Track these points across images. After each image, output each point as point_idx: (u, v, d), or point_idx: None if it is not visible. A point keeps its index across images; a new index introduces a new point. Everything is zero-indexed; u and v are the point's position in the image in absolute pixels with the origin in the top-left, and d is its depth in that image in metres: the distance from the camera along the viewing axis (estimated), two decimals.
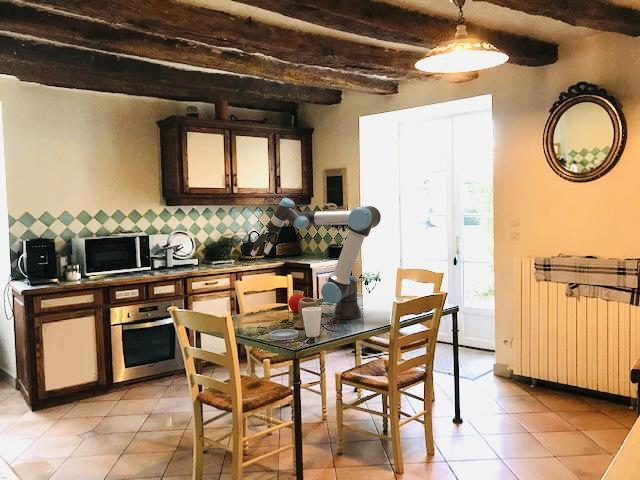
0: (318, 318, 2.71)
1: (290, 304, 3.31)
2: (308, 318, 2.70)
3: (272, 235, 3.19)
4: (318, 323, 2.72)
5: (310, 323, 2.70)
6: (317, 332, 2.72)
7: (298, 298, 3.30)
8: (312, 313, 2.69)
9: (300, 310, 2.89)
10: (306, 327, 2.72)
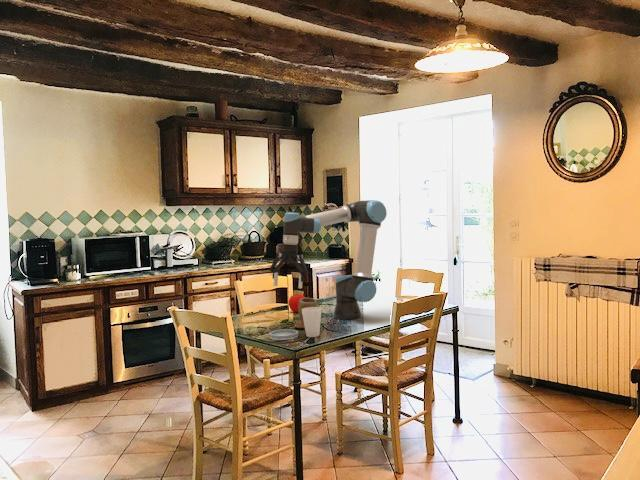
0: (318, 318, 2.71)
1: (290, 304, 3.31)
2: (308, 318, 2.70)
3: None
4: (318, 323, 2.72)
5: (310, 323, 2.70)
6: (317, 332, 2.72)
7: (298, 298, 3.30)
8: (312, 313, 2.69)
9: (300, 310, 2.89)
10: (306, 327, 2.72)
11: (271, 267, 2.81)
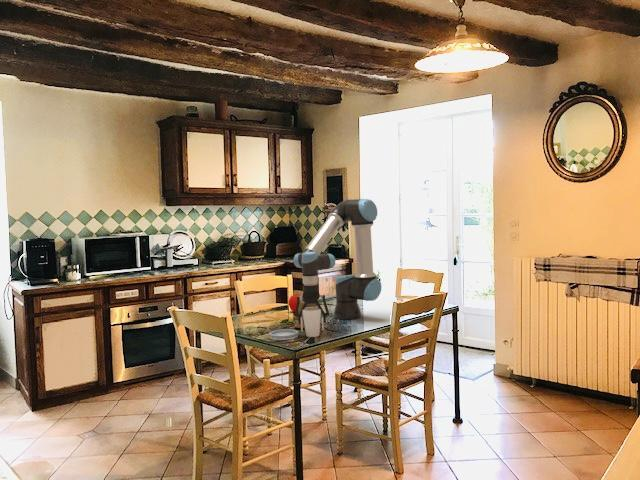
0: (318, 318, 2.71)
1: (290, 304, 3.31)
2: (308, 318, 2.70)
3: None
4: (318, 323, 2.72)
5: (310, 323, 2.70)
6: (317, 332, 2.72)
7: None
8: (312, 313, 2.69)
9: (300, 310, 2.89)
10: (306, 327, 2.72)
11: (296, 312, 2.73)
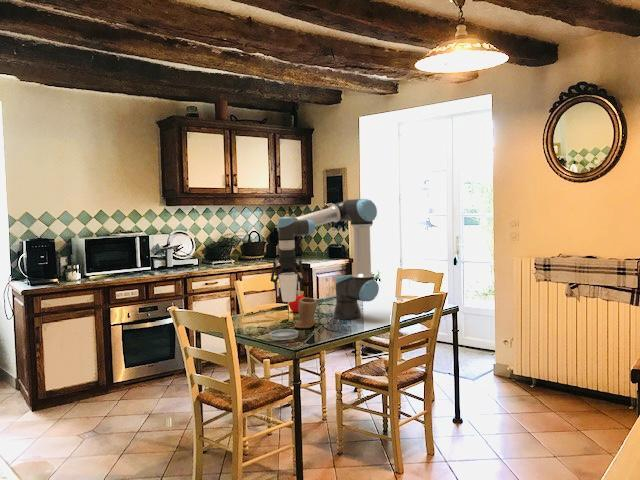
0: (294, 283, 2.70)
1: (290, 304, 3.31)
2: (284, 282, 2.69)
3: None
4: (294, 288, 2.70)
5: (286, 288, 2.69)
6: (293, 297, 2.71)
7: (298, 298, 3.30)
8: (288, 277, 2.68)
9: (300, 310, 2.89)
10: (282, 292, 2.71)
11: (272, 277, 2.71)
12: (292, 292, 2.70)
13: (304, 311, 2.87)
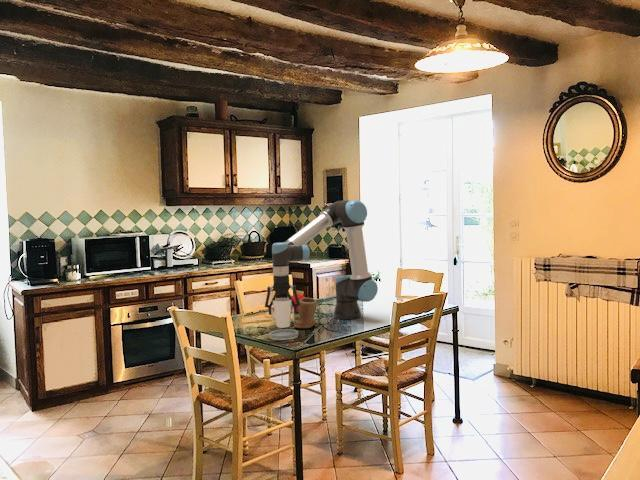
0: (288, 309, 2.71)
1: None
2: (278, 308, 2.70)
3: None
4: (288, 314, 2.71)
5: (280, 314, 2.70)
6: (287, 323, 2.72)
7: (298, 298, 3.30)
8: (282, 304, 2.69)
9: (300, 310, 2.89)
10: (276, 318, 2.72)
11: (266, 303, 2.72)
12: (286, 318, 2.71)
13: (303, 311, 2.87)
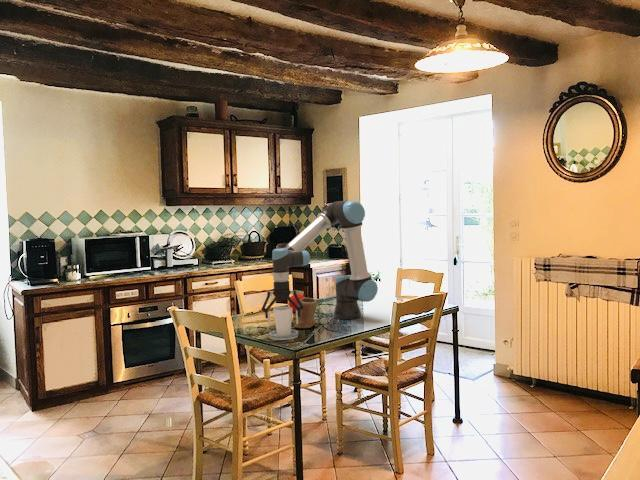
0: (289, 318, 2.71)
1: (290, 304, 3.31)
2: (278, 317, 2.70)
3: None
4: (289, 323, 2.72)
5: (281, 323, 2.70)
6: (288, 332, 2.72)
7: None
8: (283, 313, 2.69)
9: (300, 310, 2.89)
10: (277, 327, 2.72)
11: (263, 307, 2.72)
12: (287, 327, 2.71)
13: (304, 311, 2.87)
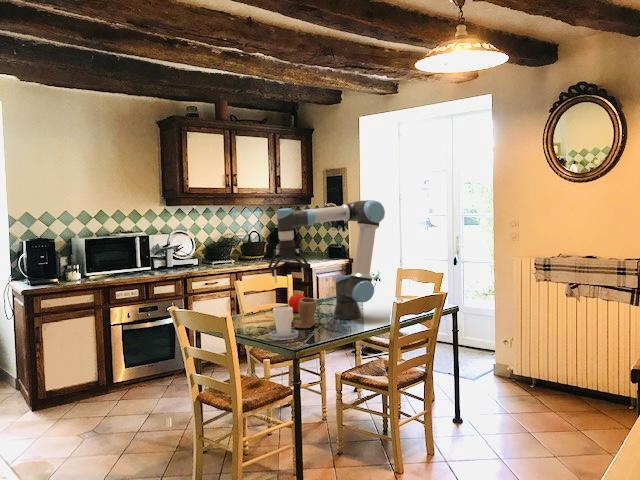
0: (289, 318, 2.71)
1: (290, 304, 3.31)
2: (278, 317, 2.70)
3: None
4: (289, 323, 2.72)
5: (281, 323, 2.70)
6: (288, 332, 2.72)
7: (298, 298, 3.30)
8: (283, 313, 2.69)
9: (300, 310, 2.89)
10: (277, 327, 2.72)
11: (270, 265, 2.81)
12: (287, 327, 2.71)
13: (303, 311, 2.87)
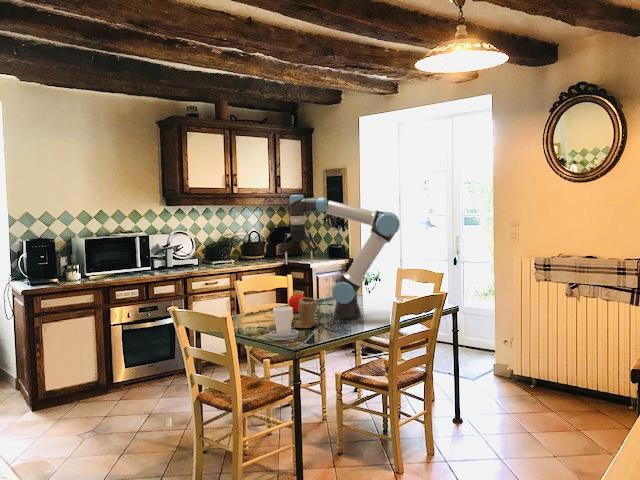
0: (289, 318, 2.71)
1: (290, 304, 3.31)
2: (278, 317, 2.70)
3: None
4: (289, 323, 2.72)
5: (281, 323, 2.70)
6: (288, 332, 2.72)
7: (298, 298, 3.30)
8: (283, 313, 2.69)
9: (300, 310, 2.89)
10: (277, 327, 2.72)
11: (281, 247, 3.01)
12: (287, 327, 2.71)
13: (304, 311, 2.87)
